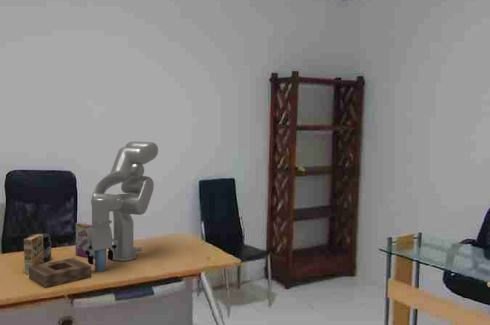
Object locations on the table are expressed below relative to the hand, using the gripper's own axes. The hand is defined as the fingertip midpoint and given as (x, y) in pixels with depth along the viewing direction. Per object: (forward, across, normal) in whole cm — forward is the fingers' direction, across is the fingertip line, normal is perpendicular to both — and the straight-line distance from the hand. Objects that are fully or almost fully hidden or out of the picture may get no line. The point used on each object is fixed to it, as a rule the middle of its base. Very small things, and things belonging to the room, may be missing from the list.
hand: (100, 261), depth 222 cm
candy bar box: (+4, -6, -24) cm, 25 cm away
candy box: (+4, +22, -19) cm, 29 cm away
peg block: (+4, +18, -2) cm, 19 cm away
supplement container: (+4, +14, -32) cm, 35 cm away
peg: (+4, 0, 0) cm, 4 cm away
